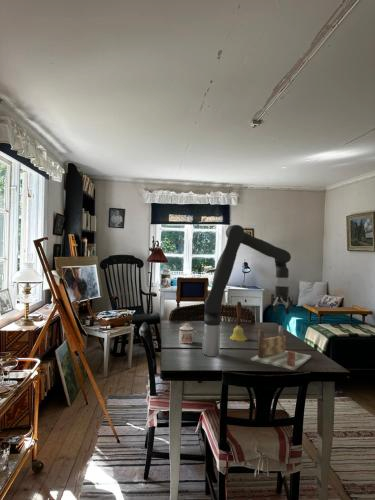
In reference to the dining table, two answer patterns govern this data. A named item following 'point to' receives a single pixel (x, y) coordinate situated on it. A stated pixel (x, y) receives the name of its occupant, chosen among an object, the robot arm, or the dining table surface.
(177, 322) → the dining table surface
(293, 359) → the towel on rod
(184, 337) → the teacup with lid
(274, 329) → the dining table surface
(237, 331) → the handbell
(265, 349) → the wooden panel
